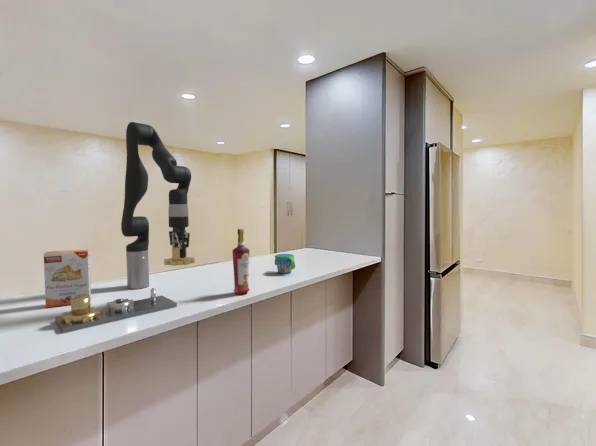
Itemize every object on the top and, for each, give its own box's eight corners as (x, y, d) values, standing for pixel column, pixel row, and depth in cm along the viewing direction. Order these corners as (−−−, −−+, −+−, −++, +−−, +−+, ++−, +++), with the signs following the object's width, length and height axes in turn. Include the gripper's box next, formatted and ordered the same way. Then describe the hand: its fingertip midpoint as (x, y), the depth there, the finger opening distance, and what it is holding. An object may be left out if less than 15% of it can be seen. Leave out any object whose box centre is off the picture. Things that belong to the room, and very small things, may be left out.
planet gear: (158, 262, 129) (158, 247, 128) (186, 259, 137) (186, 244, 137) (171, 266, 120) (171, 250, 120) (200, 262, 129) (200, 246, 128)
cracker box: (45, 308, 118) (42, 253, 117) (49, 304, 123) (46, 251, 122) (89, 303, 124) (87, 250, 123) (91, 299, 130) (89, 248, 129)
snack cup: (300, 274, 175) (300, 255, 175) (284, 276, 169) (284, 257, 169) (284, 269, 188) (284, 252, 187) (269, 271, 182) (269, 254, 181)
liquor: (243, 289, 143) (242, 228, 141) (253, 293, 138) (252, 229, 136) (229, 293, 138) (228, 229, 136) (239, 296, 133) (238, 230, 131)
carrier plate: (55, 321, 105) (54, 297, 104) (162, 299, 129) (161, 279, 129) (62, 333, 95) (61, 307, 94) (176, 306, 119) (176, 285, 119)
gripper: (161, 215, 130) (163, 256, 131) (177, 216, 120) (178, 260, 121) (179, 214, 135) (180, 254, 136) (195, 215, 125) (196, 258, 126)
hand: (179, 256), depth 129 cm, fingers closed on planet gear, 5 cm apart
